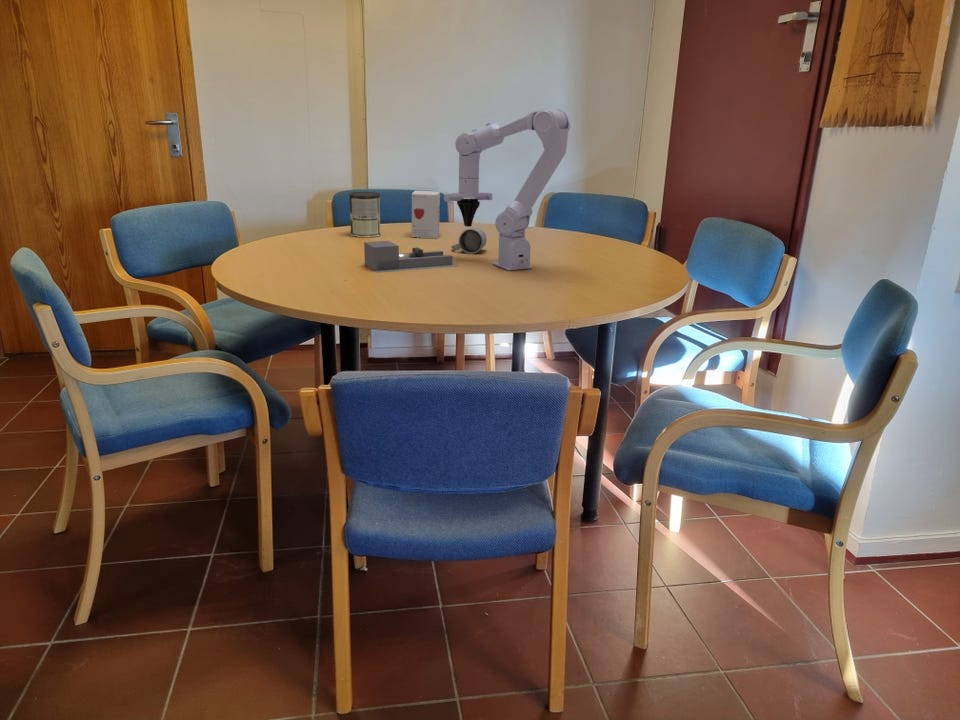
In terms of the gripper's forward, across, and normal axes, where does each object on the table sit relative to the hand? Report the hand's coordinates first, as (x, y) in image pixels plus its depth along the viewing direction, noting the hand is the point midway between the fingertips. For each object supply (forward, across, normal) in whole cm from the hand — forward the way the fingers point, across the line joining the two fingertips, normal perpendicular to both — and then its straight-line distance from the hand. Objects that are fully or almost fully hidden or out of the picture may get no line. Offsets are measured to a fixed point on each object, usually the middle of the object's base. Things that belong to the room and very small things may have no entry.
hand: (467, 226), depth 202 cm
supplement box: (+10, -4, -41) cm, 42 cm away
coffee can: (+10, +15, -49) cm, 52 cm away
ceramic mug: (+10, -6, -12) cm, 17 cm away
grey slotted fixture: (+10, +18, +3) cm, 21 cm away
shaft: (+9, +21, +3) cm, 23 cm away
